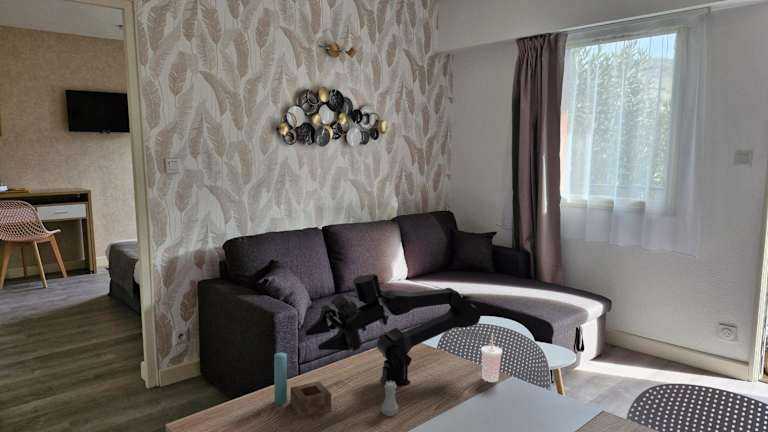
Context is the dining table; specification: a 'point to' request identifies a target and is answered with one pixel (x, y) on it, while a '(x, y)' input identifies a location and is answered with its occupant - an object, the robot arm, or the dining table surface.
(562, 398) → the dining table surface
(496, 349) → the beverage cup
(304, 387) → the walnut hole block
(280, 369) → the teal pin
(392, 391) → the rook chess piece
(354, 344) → the robot arm
